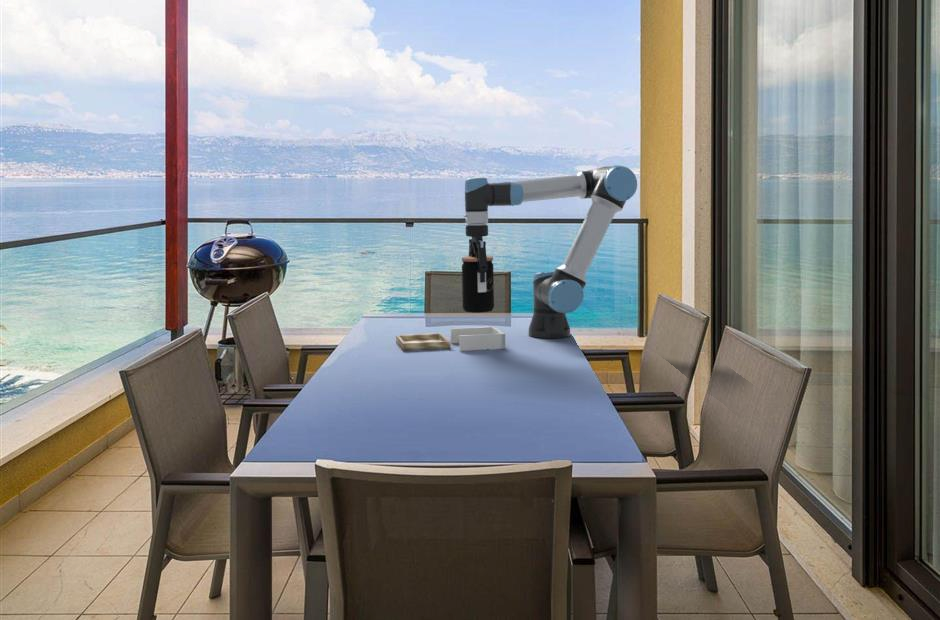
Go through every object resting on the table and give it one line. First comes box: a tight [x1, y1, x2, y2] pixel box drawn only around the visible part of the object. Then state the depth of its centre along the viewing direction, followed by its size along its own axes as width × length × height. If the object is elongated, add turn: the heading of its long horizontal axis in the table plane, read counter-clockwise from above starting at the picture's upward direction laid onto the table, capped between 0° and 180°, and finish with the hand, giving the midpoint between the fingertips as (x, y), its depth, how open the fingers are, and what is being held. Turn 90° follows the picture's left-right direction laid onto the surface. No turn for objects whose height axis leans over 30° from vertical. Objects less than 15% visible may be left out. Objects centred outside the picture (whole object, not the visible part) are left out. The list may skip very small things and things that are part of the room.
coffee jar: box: [461, 255, 495, 314], centre depth 286 cm, size 11×11×18 cm
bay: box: [450, 326, 506, 352], centre depth 289 cm, size 15×15×5 cm
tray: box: [395, 332, 451, 352], centre depth 290 cm, size 16×16×2 cm
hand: (478, 290), depth 287 cm, fingers closed on coffee jar, 11 cm apart
